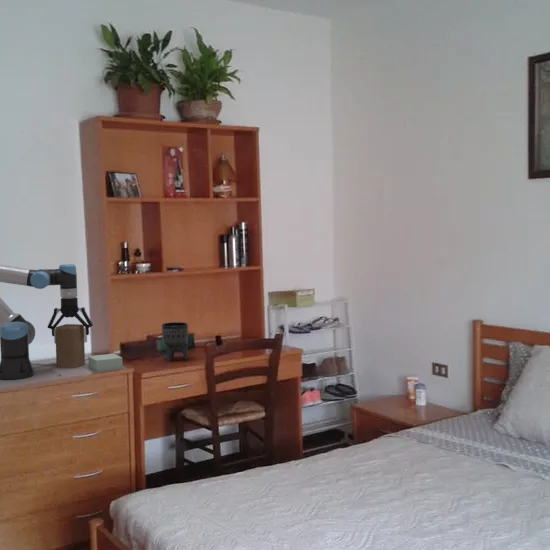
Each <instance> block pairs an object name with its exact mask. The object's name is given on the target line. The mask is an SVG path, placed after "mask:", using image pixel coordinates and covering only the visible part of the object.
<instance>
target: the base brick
mask: <svg viewBox="0 0 550 550" xmlns="http://www.w3.org/2000/svg"><path fill="white" fill-rule="evenodd" d="M88 366H89V367H90V368H91V369H93V370H95V371H97V372H98V371H106V370H114V369H122V368H123V366H124V365H123V357H122V356H119V355H117V354H115V353H108V354H99V355H89V356H88Z"/></svg>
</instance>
